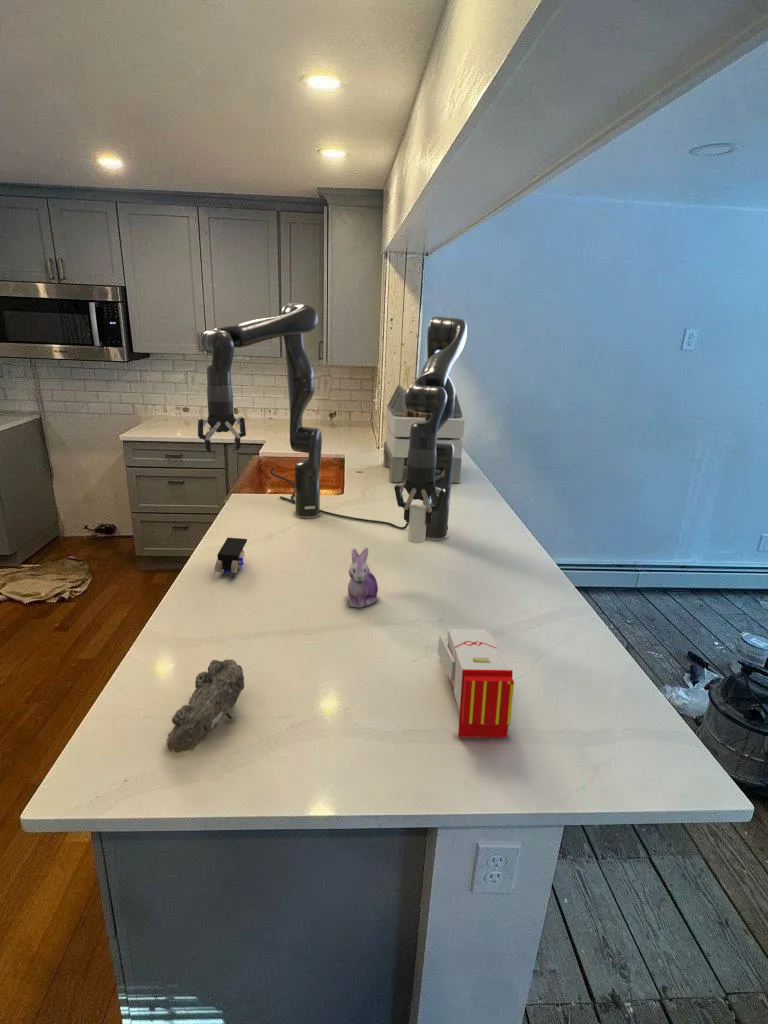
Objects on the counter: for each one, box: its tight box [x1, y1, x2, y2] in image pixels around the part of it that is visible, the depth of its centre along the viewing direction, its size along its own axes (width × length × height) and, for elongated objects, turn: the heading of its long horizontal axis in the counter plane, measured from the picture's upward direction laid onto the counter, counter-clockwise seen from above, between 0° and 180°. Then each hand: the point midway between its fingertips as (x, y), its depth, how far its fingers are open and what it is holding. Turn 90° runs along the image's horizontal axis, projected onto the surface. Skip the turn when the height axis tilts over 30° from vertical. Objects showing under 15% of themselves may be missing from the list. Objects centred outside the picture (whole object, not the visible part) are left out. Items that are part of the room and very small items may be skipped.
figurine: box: [346, 546, 379, 609], centre depth 151 cm, size 9×10×15 cm
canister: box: [407, 503, 427, 545], centre depth 155 cm, size 5×5×10 cm
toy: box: [437, 628, 515, 738], centre depth 117 cm, size 12×13×30 cm
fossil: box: [166, 658, 245, 754], centre depth 106 cm, size 22×10×15 cm
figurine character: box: [214, 537, 248, 578], centre depth 166 cm, size 7×8×15 cm
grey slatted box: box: [383, 384, 465, 484], centre depth 268 cm, size 34×33×41 cm
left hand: (223, 450), depth 178 cm, fingers open, 8 cm apart
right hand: (417, 522), depth 155 cm, fingers closed on canister, 5 cm apart
